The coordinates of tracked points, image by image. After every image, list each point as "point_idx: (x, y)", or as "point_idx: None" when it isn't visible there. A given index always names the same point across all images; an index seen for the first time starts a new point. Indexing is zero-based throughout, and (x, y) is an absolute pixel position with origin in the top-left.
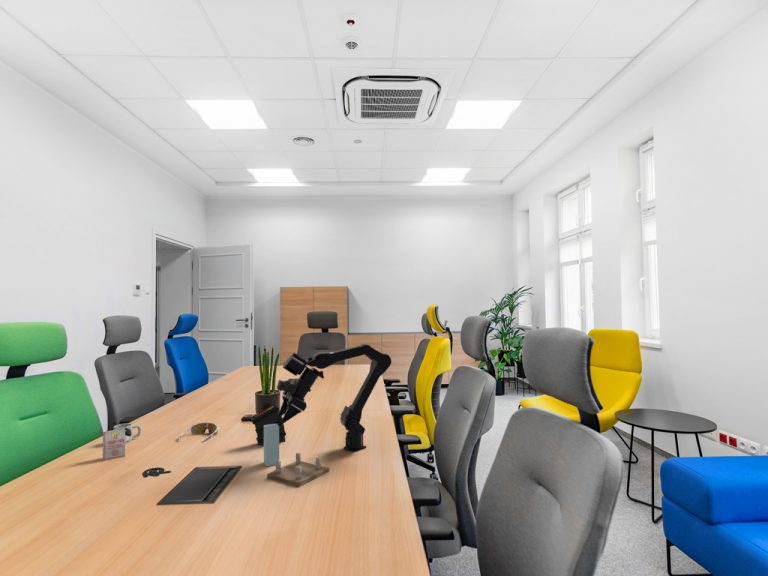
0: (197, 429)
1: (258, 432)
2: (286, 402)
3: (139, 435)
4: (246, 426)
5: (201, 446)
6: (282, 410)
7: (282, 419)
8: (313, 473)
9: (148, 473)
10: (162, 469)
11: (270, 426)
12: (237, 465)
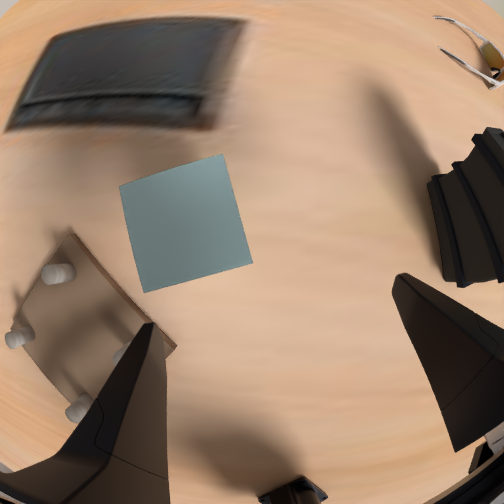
0: (491, 55)
1: (455, 172)
2: (488, 389)
3: None
4: None
5: (414, 40)
6: (430, 326)
7: (133, 339)
8: (57, 379)
9: None
10: None
11: (160, 216)
12: (222, 114)
